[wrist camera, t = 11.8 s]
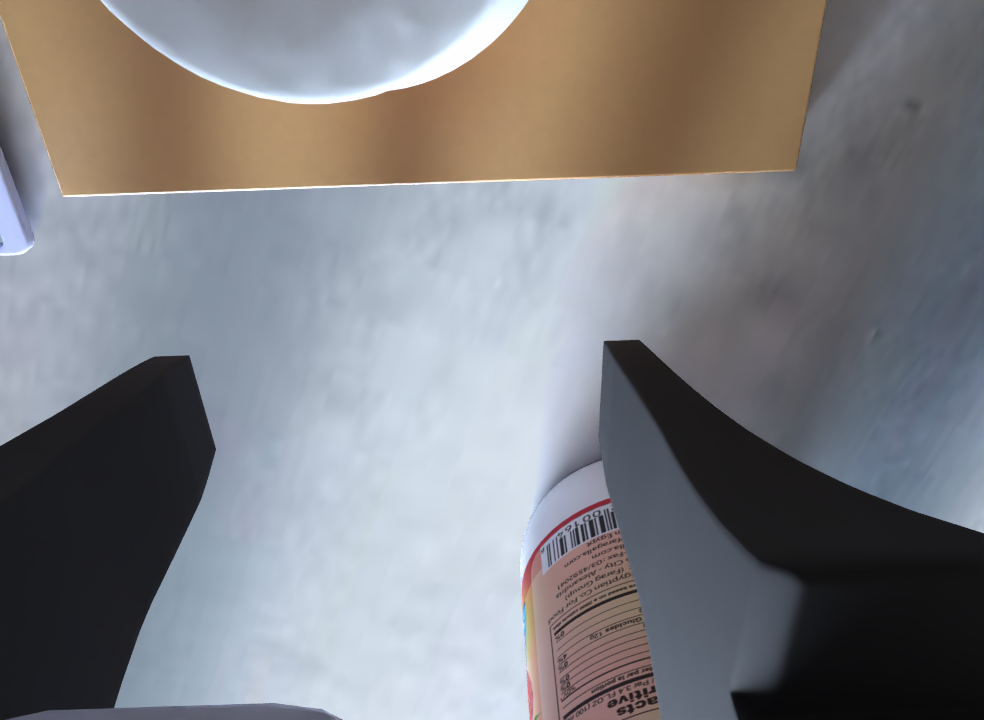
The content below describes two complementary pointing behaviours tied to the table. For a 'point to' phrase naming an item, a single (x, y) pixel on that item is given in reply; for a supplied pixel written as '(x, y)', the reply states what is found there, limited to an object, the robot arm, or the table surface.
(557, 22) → the oak board
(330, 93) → the pill bottle
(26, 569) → the robot arm
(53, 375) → the table surface
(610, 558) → the fruit juice
